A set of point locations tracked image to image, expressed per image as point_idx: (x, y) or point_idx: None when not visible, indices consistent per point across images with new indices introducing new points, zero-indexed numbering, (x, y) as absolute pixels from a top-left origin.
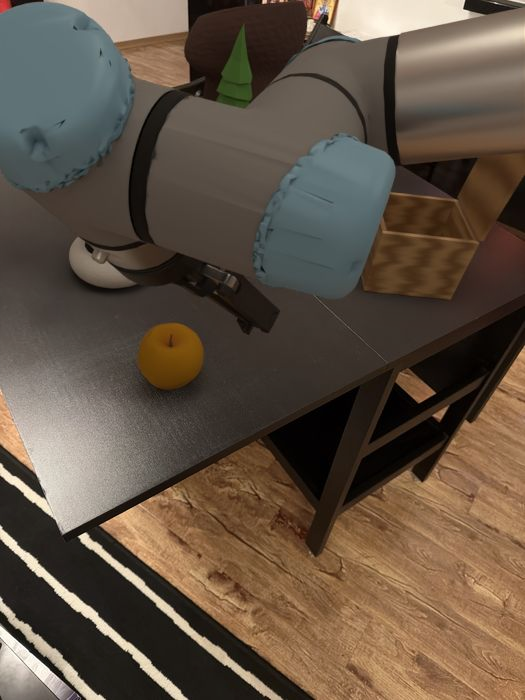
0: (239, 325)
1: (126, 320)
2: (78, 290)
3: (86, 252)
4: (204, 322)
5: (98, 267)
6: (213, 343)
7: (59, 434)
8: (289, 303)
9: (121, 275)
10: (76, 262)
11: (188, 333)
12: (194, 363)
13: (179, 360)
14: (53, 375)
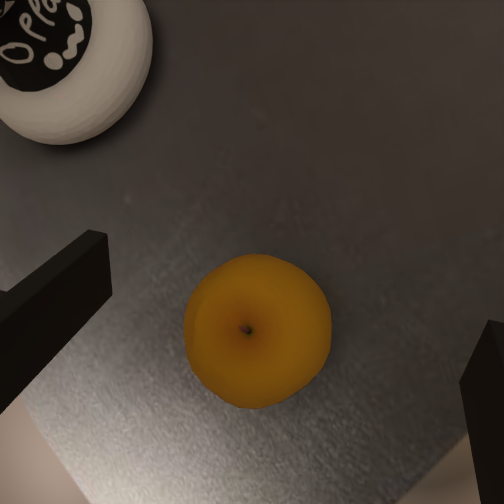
0: (482, 498)
1: (146, 202)
2: (45, 160)
3: (7, 90)
4: (291, 150)
5: (42, 119)
6: (327, 202)
7: (135, 491)
8: (470, 10)
9: (91, 115)
10: (5, 119)
11: (278, 301)
12: (317, 360)
13: (283, 384)
14: (81, 369)
